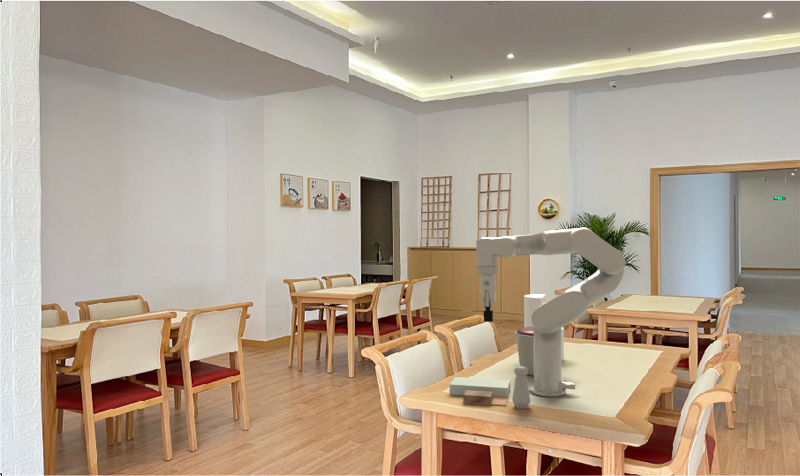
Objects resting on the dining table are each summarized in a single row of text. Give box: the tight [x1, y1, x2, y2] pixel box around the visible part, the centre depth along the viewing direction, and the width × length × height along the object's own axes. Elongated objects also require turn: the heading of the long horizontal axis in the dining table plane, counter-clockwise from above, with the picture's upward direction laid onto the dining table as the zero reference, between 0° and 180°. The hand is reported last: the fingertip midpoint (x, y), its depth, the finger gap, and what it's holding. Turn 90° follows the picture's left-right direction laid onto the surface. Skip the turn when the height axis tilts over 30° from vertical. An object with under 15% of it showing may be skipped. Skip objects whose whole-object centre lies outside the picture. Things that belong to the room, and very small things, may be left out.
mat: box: [462, 397, 509, 407], centre depth 192 cm, size 14×9×1 cm, turn 75°
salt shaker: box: [512, 365, 532, 410], centre depth 184 cm, size 6×6×13 cm
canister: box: [514, 327, 534, 377], centre depth 229 cm, size 18×18×21 cm
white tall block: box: [523, 293, 565, 362], centre depth 257 cm, size 17×17×28 cm
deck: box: [449, 376, 511, 399], centre depth 202 cm, size 20×11×4 cm, turn 75°
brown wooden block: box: [462, 390, 493, 405], centre depth 191 cm, size 9×6×2 cm, turn 75°
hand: (488, 321), depth 208 cm, fingers closed
